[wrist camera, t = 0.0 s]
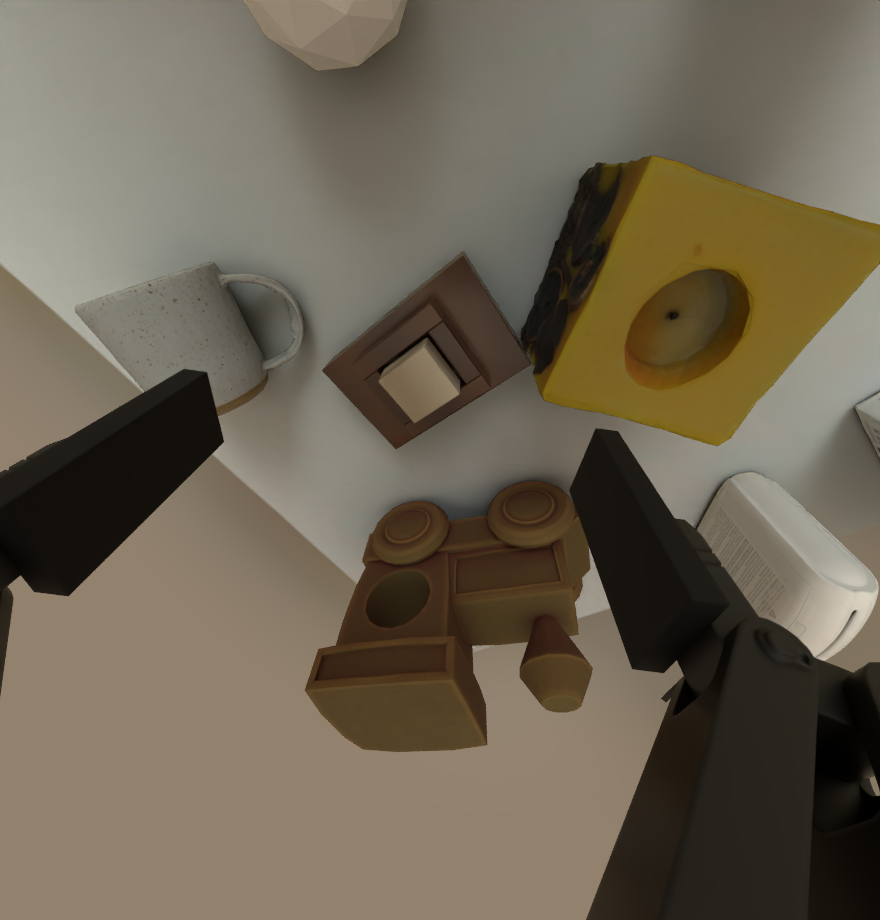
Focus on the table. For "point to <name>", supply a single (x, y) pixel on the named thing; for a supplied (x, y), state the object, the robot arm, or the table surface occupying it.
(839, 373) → the table surface
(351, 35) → the geometric ball
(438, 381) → the beige square block
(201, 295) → the ceramic mug
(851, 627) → the photo printer
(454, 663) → the wooden toy train
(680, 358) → the candle
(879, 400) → the tea box
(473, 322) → the brown stepped block
